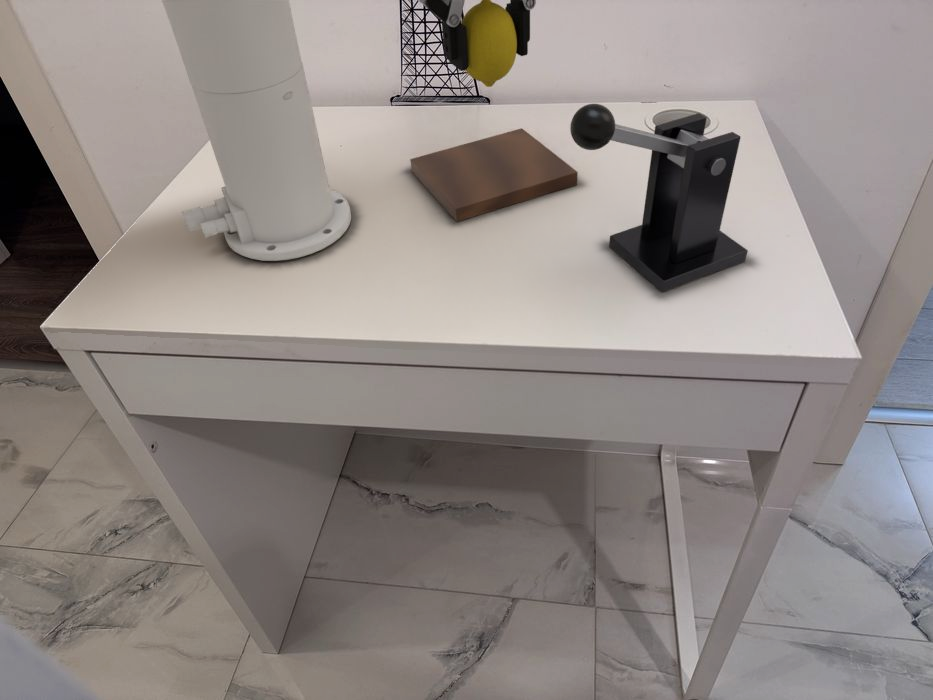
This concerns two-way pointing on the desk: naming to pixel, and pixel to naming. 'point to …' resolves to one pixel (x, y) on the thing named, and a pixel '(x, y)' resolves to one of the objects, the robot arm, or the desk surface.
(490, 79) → the lemon
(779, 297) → the desk surface
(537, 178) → the board
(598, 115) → the lever
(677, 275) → the lever stand
